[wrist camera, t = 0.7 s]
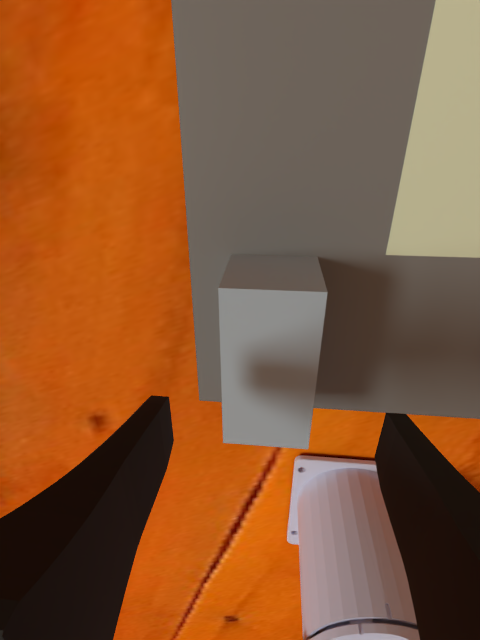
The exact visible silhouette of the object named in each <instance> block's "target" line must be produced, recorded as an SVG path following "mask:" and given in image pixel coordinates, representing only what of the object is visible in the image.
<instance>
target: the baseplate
mask: <svg viewBox="0 0 480 640" xmlns="http://www.w3.org/2000/svg"><path fill="white" fill-rule="evenodd" d="M171 1H172V16H173V30H174V44H175V58H176V73H177V87H178V101H179V115H180V130H181V144H182V158H183V172H184V187H185V201H186V215H187V229H188V244H189V258H190V272H191V286H192V301H193V315H194V329H195V343H196V358H197V372H198V386H199V400H202V401H217V402H222V388H221V357H220V326H219V295H218V287H219V285H220V282H221V280H222V277H223V274H224V272H225V269H226V266H227V264H228V261H229V259H230V256H231V254H235V255H268V256H302V257H318V260H319V264H320V267H321V271H322V274H323V278H324V281H325V285H326V288H327V292H328V293H327V301H326V309H325V317H324V325H323V333H322V341H321V349H320V357H319V365H318V373H317V381H316V389H315V397H314V405H313V408H324V409H339V410H355V411H370V412H385V413H400V414H416V415H431V416H446V417H461V418H477V419H480V0H171Z"/></svg>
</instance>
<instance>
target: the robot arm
mask: <svg viewBox="0 0 480 640" xmlns="http://www.w3.org/2000/svg"><path fill="white" fill-rule="evenodd" d="M173 441H174V439H173V430H172V421H171V412H170V403H169V397H163V396H151V397H149V398H148V399H147V400H146V401H145V402H144V403H143V404H142V405H141V406H140V407H139V408H138V410H137V411H136V412H135V413H134V414H133V415H132V416H131V417H130V418H129V419H128V420H127V421H126V422H125V423H124V424H123V425H122V426H121V427H120V428H119V429H118V430H116V431H115V432H114V433H113V434H112V435H111V436H110V437H109V438H108V439H107V440H106V441H105V442H104V443H103V444H102V445H101V446H99V447H98V448H97V449H96V450H95V451H94V452H93V453H91V454H90V455H89V456H88V457H87V458H86V459H85V460H83V461H82V462H81V463H80V464H79V465H77V466H76V467H75V468H74V469H72V470H71V471H70V472H69V473H67V474H66V475H65V476H63V477H62V478H61V479H59V480H58V481H57V482H55V483H54V484H53V485H51V486H50V487H48V488H47V489H45V490H44V491H42V492H41V493H40V494H38V495H37V496H35V497H34V498H32V499H31V500H29V501H28V502H26V503H25V504H23V505H22V506H20V507H18V508H17V509H15V510H14V511H12V512H10V513H9V514H7V515H5V516H4V517H2V518H0V640H113V637H114V633H115V629H116V625H117V621H118V617H119V613H120V609H121V606H122V602H123V598H124V594H125V590H126V587H127V583H128V579H129V576H130V572H131V569H132V565H133V561H134V558H135V554H136V551H137V547H138V545H139V542H140V539H141V536H142V533H143V530H144V528H145V525H146V522H147V520H148V517H149V514H150V512H151V509H152V507H153V504H154V501H155V499H156V496H157V493H158V491H159V488H160V485H161V483H162V480H163V477H164V475H165V472H166V469H167V465H168V462H169V458H170V454H171V450H172V445H173ZM300 467H303V468H300ZM287 541H288V542H289V543H291V544H298V545H299V559H300V581H301V604H302V627H303V640H480V493H479V492H478V491H477V490H476V489H475V488H474V487H473V486H472V485H471V484H470V483H469V482H468V481H467V480H466V479H465V478H464V477H463V476H462V475H461V474H460V473H459V472H458V471H457V470H456V469H455V468H454V467H453V466H452V465H451V464H450V462H449V461H448V460H447V459H446V458H445V457H444V456H443V455H442V454H441V453H440V452H439V451H438V450H437V448H436V447H435V446H434V445H433V444H432V443H431V442H430V441H429V440H428V438H427V437H426V436H425V435H424V434H423V433H422V432H421V431H420V429H419V428H418V427H417V426H416V425H415V424H414V423H413V422H412V420H411V419H410V418H409V417H408V416H407V415H406V414H399V413H386V415H385V419H384V423H383V427H382V431H381V435H380V438H379V442H378V446H377V450H376V454H375V461H370V460H357V459H344V458H331V457H318V456H305V455H300V456H297V457H296V458H295V461H294V471H293V481H292V491H291V501H290V510H289V520H288V530H287Z"/></svg>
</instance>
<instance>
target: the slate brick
mask: <svg viewBox="0 0 480 640" xmlns="http://www.w3.org/2000/svg"><path fill="white" fill-rule="evenodd" d="M327 293H328V292H327V288H326V285H325V281H324V278H323V274H322V271H321V267H320V264H319V260H318V257H302V256H268V255H235V254H231V256H230V259H229V261H228V264H227V266H226V269H225V272H224V274H223V277H222V280H221V282H220V285H219V287H218V295H219V326H220V357H221V388H222V419H223V443H233V444H247V445H260V446H273V447H286V448H300V449H308V446H309V438H310V430H311V422H312V414H313V405H314V397H315V389H316V381H317V373H318V365H319V357H320V349H321V341H322V333H323V325H324V317H325V309H326V301H327Z"/></svg>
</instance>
